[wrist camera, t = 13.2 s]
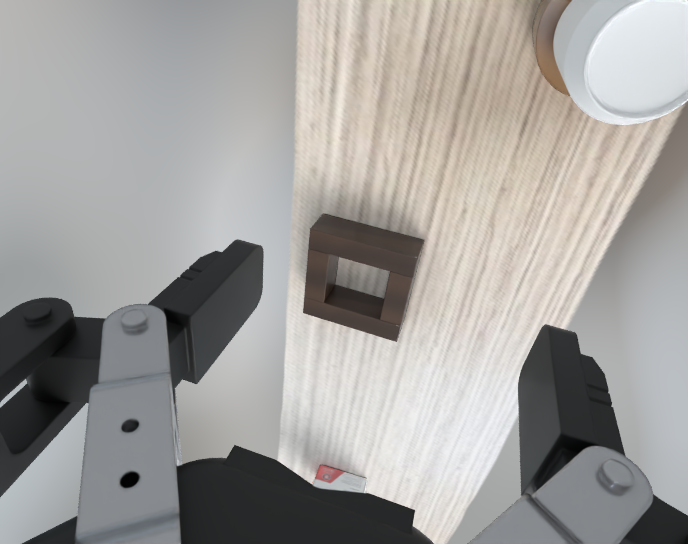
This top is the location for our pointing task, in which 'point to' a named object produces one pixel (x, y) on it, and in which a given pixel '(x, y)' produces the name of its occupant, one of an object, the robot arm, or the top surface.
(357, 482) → the ink cartridge box
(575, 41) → the beverage can
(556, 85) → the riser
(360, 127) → the top surface
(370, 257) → the can stand
